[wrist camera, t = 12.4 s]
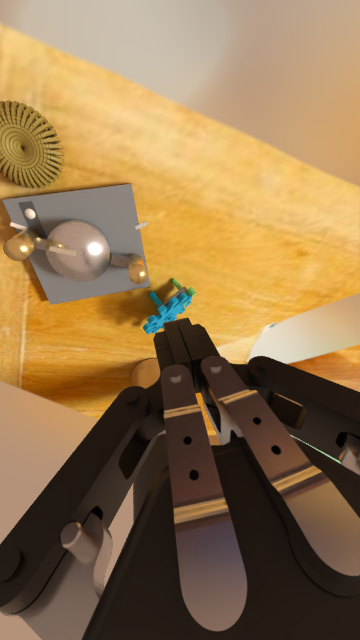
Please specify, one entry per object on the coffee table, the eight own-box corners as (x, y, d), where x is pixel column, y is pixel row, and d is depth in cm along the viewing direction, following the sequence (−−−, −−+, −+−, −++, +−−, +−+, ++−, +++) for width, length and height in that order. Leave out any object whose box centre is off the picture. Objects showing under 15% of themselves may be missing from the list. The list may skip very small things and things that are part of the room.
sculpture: (64, 193, 28) (-14, 185, 26) (70, 191, 31) (0, 183, 29) (54, 105, 24) (-40, 87, 22) (62, 113, 27) (-20, 97, 25)
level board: (156, 281, 41) (157, 285, 40) (50, 300, 38) (47, 305, 37) (139, 182, 32) (140, 182, 31) (3, 199, 30) (-2, 200, 29)
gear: (156, 338, 45) (140, 335, 36) (138, 315, 47) (118, 306, 37) (200, 302, 45) (196, 288, 35) (181, 280, 46) (172, 260, 36)
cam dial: (149, 237, 35) (154, 249, 30) (137, 286, 39) (140, 303, 34) (20, 203, 29) (1, 210, 24) (21, 264, 33) (4, 280, 28)
